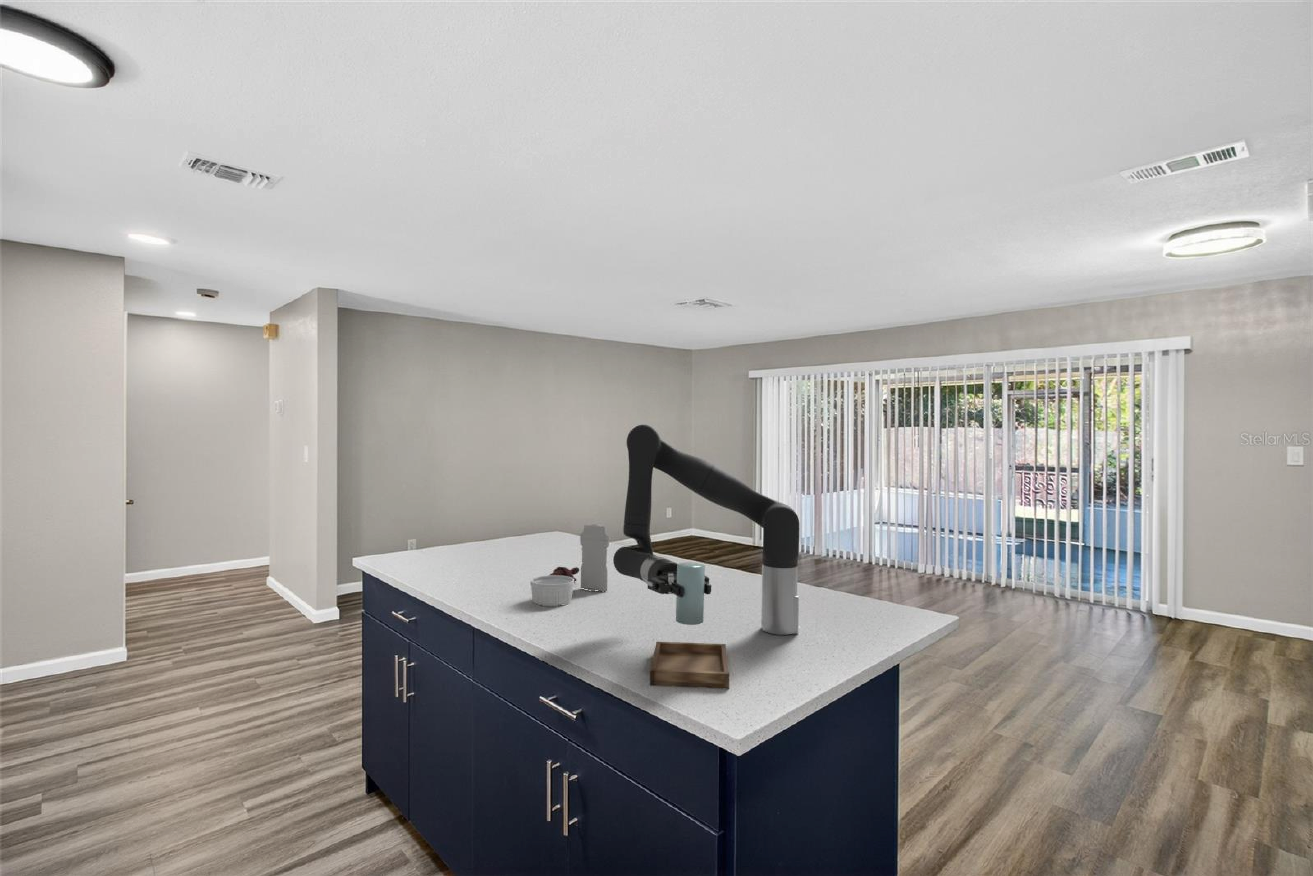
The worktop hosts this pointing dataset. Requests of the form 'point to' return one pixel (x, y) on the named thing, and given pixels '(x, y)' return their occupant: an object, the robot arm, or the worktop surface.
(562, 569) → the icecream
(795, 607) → the robot arm
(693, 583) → the pale blue cylinder
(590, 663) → the worktop surface
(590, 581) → the tall pale column
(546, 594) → the ramekin
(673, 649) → the tray
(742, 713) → the worktop surface
